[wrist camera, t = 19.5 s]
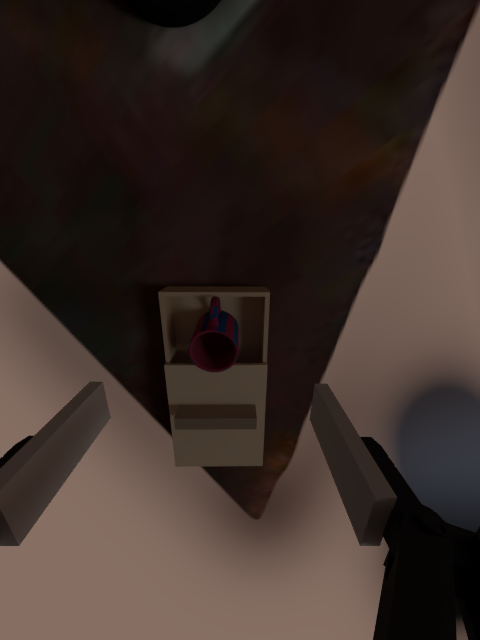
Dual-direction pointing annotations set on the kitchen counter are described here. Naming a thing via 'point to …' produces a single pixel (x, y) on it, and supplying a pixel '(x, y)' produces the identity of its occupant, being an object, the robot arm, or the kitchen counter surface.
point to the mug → (215, 340)
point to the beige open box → (193, 301)
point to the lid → (217, 414)
